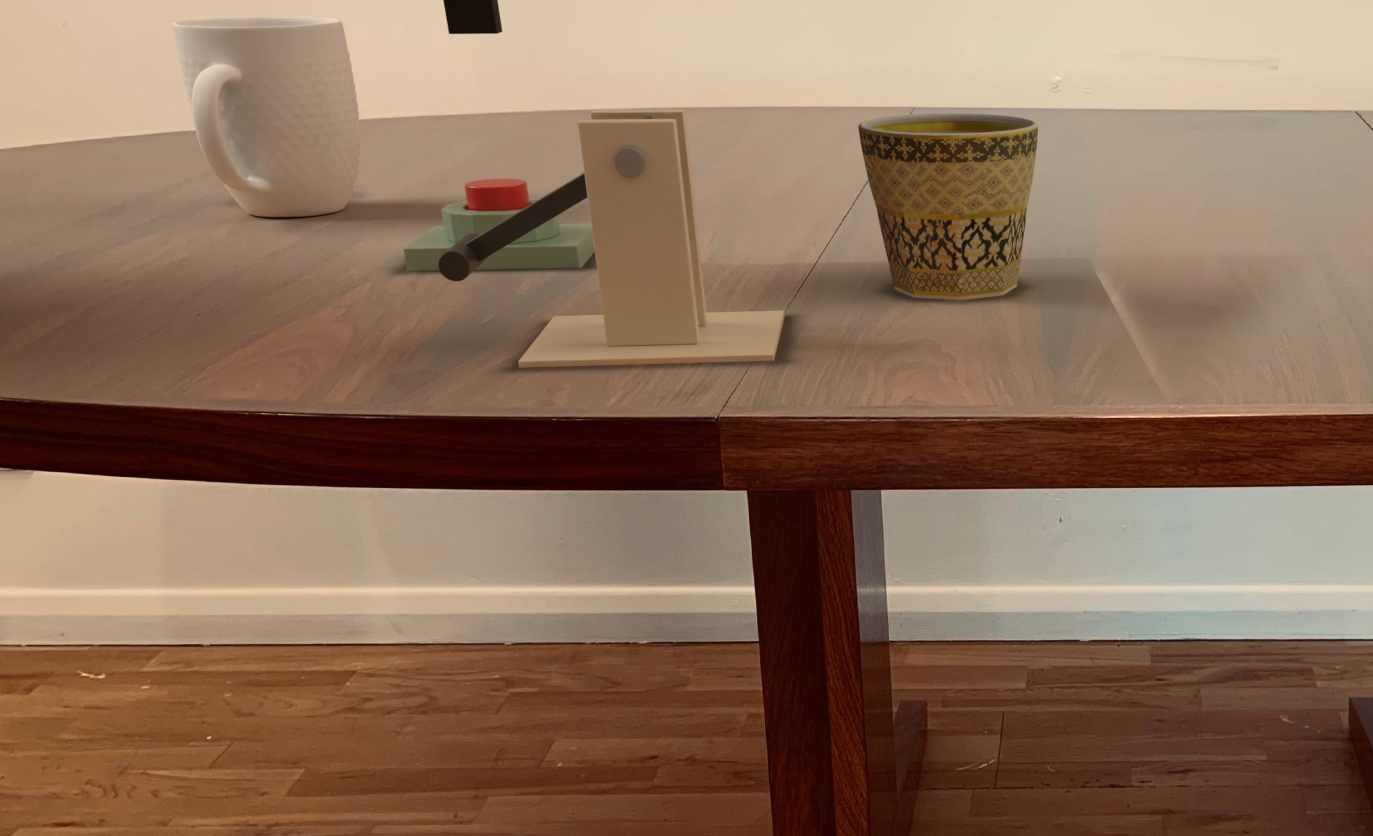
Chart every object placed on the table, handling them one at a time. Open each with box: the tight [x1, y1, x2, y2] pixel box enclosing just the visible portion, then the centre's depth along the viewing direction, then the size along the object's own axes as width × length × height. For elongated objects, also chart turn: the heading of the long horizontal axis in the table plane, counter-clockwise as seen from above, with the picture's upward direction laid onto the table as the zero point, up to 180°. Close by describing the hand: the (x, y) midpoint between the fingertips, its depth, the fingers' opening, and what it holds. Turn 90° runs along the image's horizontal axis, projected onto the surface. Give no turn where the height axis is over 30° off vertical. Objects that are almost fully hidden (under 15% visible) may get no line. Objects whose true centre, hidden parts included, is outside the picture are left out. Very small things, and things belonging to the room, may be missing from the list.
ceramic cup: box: [858, 112, 1039, 301], centre depth 100 cm, size 13×10×10 cm
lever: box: [438, 116, 652, 282], centre depth 85 cm, size 12×5×2 cm, turn 99°
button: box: [464, 178, 530, 211], centre depth 107 cm, size 4×4×2 cm
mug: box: [172, 16, 361, 218], centre depth 124 cm, size 15×11×13 cm
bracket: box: [517, 108, 786, 369], centre depth 86 cm, size 12×10×12 cm
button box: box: [403, 197, 595, 272], centre depth 108 cm, size 10×8×4 cm
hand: (475, 32), depth 102 cm, fingers closed
